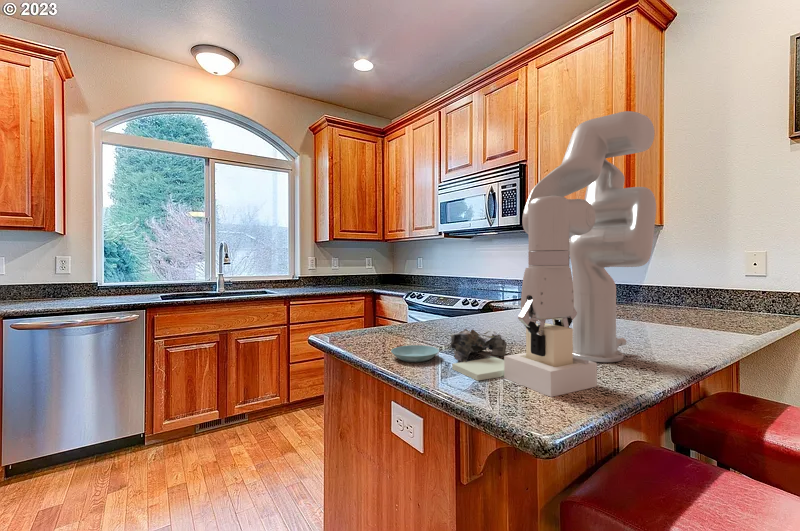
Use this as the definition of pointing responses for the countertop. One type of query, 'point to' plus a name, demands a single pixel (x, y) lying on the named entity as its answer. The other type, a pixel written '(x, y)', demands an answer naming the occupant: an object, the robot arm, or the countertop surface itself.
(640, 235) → the robot arm
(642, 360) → the countertop surface
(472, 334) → the foil
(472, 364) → the pad
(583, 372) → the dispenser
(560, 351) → the cream rectangular block
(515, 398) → the countertop surface
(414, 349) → the saucer
